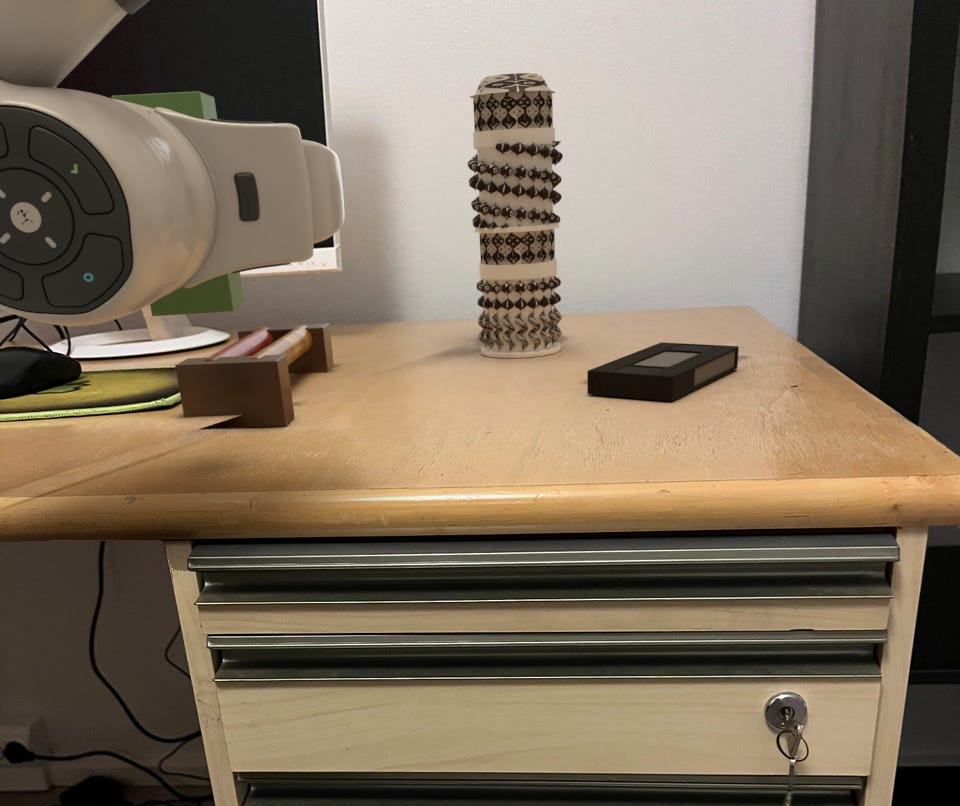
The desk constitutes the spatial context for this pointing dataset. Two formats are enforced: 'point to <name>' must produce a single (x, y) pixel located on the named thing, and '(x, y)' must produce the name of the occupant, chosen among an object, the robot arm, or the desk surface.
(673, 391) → the vhs tape
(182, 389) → the rack
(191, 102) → the bar
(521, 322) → the decorative candle
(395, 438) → the desk surface
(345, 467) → the desk surface
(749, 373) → the desk surface
